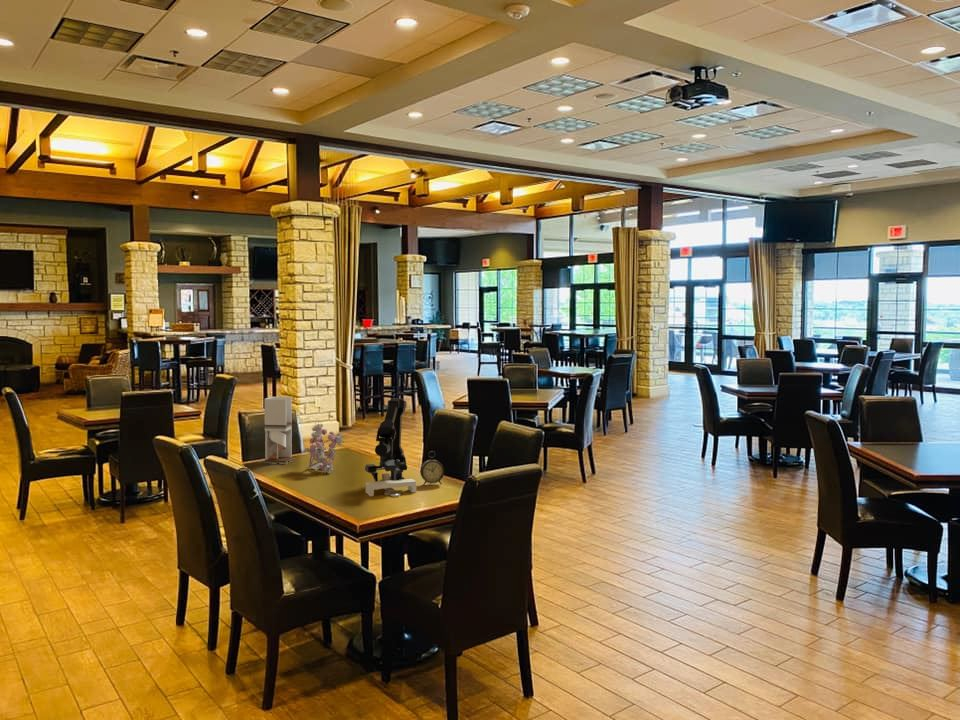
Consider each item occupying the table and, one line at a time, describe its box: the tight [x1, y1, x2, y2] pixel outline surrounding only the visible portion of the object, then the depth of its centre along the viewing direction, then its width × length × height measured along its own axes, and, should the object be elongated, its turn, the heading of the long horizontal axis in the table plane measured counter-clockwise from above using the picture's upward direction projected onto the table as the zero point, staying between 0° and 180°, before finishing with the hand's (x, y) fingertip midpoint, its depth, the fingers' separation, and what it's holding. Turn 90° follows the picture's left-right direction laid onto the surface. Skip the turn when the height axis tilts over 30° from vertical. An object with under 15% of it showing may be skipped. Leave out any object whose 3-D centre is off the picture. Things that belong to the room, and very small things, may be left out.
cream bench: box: [365, 478, 417, 497], centre depth 338 cm, size 6×22×5 cm, turn 114°
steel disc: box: [389, 493, 401, 498], centre depth 333 cm, size 4×4×1 cm
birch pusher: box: [381, 472, 403, 496], centre depth 341 cm, size 14×8×7 cm, turn 24°
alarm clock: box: [419, 450, 445, 486], centre depth 356 cm, size 11×5×16 cm, turn 105°
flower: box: [300, 422, 345, 474], centre depth 381 cm, size 20×22×25 cm
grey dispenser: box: [264, 396, 293, 464], centre depth 401 cm, size 11×11×35 cm
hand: (385, 485), depth 346 cm, fingers open, 8 cm apart
